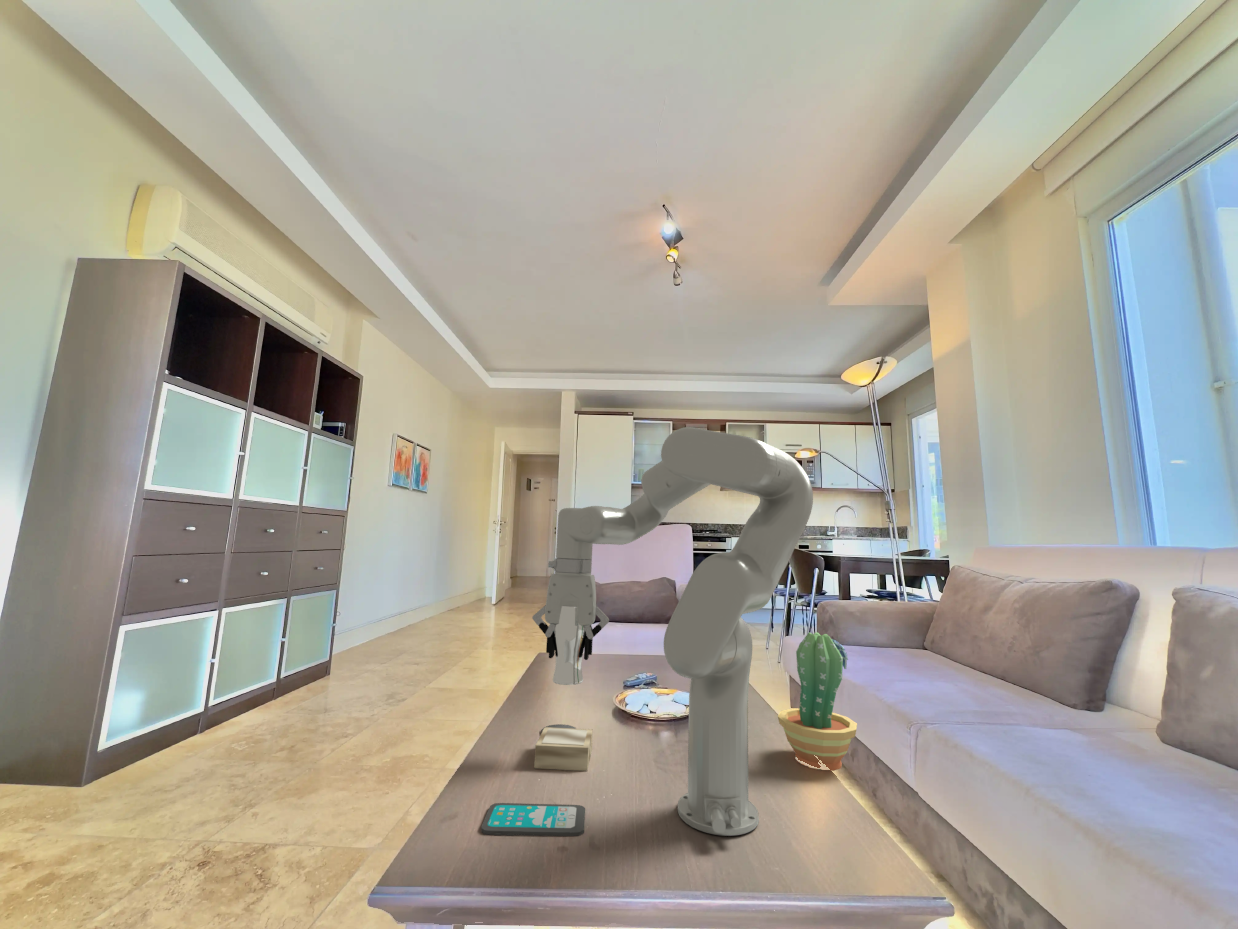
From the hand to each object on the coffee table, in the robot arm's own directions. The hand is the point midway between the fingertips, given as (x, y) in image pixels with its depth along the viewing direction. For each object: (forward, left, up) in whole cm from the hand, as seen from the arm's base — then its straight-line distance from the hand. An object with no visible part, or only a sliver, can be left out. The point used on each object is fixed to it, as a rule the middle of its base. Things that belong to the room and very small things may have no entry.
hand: (569, 657), depth 105 cm
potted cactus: (+5, -51, -19) cm, 55 cm away
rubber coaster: (+14, +3, -19) cm, 24 cm away
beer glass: (0, 0, -5) cm, 5 cm away
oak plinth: (0, 0, -19) cm, 19 cm away
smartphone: (-23, +1, -20) cm, 31 cm away
